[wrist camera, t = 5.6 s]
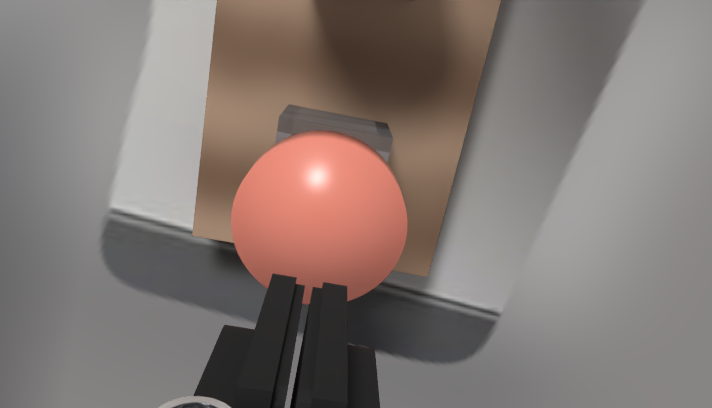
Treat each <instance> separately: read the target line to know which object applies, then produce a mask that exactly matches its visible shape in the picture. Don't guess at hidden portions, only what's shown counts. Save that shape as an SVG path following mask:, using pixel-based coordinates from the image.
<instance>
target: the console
mask: <svg viewBox="0 0 712 408" xmlns="http://www.w3.org/2000/svg"><path fill="white" fill-rule="evenodd" d="M500 3H501V0H217V6H216V15H215V25H214V34H213V44H212V53H211V63H210V72H209V82H208V91H207V101H206V110H205V120H204V129H203V139H202V148H201V158H200V167H199V177H198V186H197V196H196V205H195V215H194V225H193V234H192V236H197V237H203V238H209V239H214V240H220V241H226V242H232V243H234V240H233V236H232V229H231V213H232V207H233V202H234V199H235V196H236V193H237V190H238V188H239V186H240V184H241V183H242V181H243V179H244V178H245V176H246V175H247V173H248V172H249V171H250V169H251V168H252V166H253V165H254V164H255V162H256V161H257V159H258V158H259V157H260V156H261V155H262V154H263V153H264V152H265V151H266V150H267V149H269V148H270V147H271V146H273V145H274V144H276V143H277V142H279V141H281V140H282V139H284V138H287V137H289V136H292V135H295V134H298V133H302V132H308V131H334V132H339V133H343V134H347V135H349V136H352V137H354V138H357V139H359V140H361V141H362V142H364V143H366V144H368V145H369V146H370V147H372V148H373V149H374V150H376V151H377V152H378V153H379V154H380V155H381V156H382V157H383V158H384V160H385V161H386V162H387V163H388V165H389V166H390V168H391V169H392V171H393V173H394V174H395V176H396V179H397V181H398V184H399V187H400V190H401V193H402V196H403V199H404V203H405V207H406V212H407V221H408V222H407V236H406V242H405V245H404V248H403V252H402V254H401V256H400V258H399V260H398V262H397V264H396V265H395V267H394V268H393V270H392V271H397V272H403V273H409V274H415V275H420V276H426V277H428V274H429V270H430V266H431V263H432V259H433V255H434V251H435V248H436V244H437V240H438V236H439V233H440V229H441V225H442V221H443V217H444V214H445V210H446V206H447V202H448V199H449V195H450V191H451V187H452V184H453V180H454V176H455V172H456V169H457V165H458V161H459V157H460V154H461V150H462V146H463V142H464V138H465V135H466V131H467V127H468V123H469V120H470V116H471V112H472V108H473V105H474V101H475V97H476V93H477V90H478V86H479V82H480V78H481V75H482V71H483V67H484V63H485V59H486V56H487V52H488V48H489V44H490V41H491V37H492V33H493V29H494V26H495V22H496V18H497V14H498V11H499V7H500Z"/></svg>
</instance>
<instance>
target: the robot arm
mask: <svg viewBox="0 0 712 408" xmlns="http://www.w3.org/2000/svg"><path fill="white" fill-rule="evenodd" d="M296 280H297V277H291V276H285V275H279V274H274V273H273V274H272V277H271V280H270V283H269V287H268V290H267V293H266V296H265V299H264V302H263V305H262V309H261V312H260V315H259V318H258V321H257V324H256V328H255V330H254V329H247V328H241V327H235V326H229V325H224V327H223V329H222V331H221V333H220V335H219V338H218V340H217V342H216V345H215V347H214V349H213V352H212V354H211V356H210V359H209V361H208V363H207V366H206V368H205V370H204V372H203V375H202V377H201V380H200V382H199V384H198V386H197V389H196V391H195V393H194V396H190V397H182V398H179V399H175V400H171V401H169V402H167V403H165V404H163V405H162V406H160V407H158V408H284V406H285V401H286V395H287V390H288V384H289V378H290V372H291V366H292V360H293V354H294V348H295V342H296V337H297V331H298V325H299V319H300V313H301V307H302V301H303V295H304V289H305V285H300V284H296ZM290 408H380V402H379V391H378V380H377V370H376V358H375V351H374V349H371V348H365V347H359V346H352V345H348V337H347V286H344V285H338V284H332V283H326V282H323V285H322V288H317V287H313V288H312V293H311V298H310V304H309V309H308V314H307V319H306V325H305V330H304V335H303V341H302V346H301V351H300V356H299V362H298V367H297V373H296V377H295V383H294V388H293V394H292V399H291V405H290Z"/></svg>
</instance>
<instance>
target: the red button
mask: <svg viewBox="0 0 712 408" xmlns="http://www.w3.org/2000/svg"><path fill="white" fill-rule="evenodd" d="M407 222H408V221H407V212H406V207H405V203H404V199H403V196H402V193H401V190H400V187H399V184H398V181H397V179H396V176H395V174H394V173H393V171H392V169H391V168H390V166H389V165H388V163H387V162H386V161H385V160H384V158H383V157H382V156H381V155H380V154H379V153H378V152H377V151H376V150H374V149H373V148H372V147H370V146H369V145H368V144H366V143H364V142H362V141H361V140H359V139H357V138H354V137H352V136H349V135H347V134H343V133H339V132H334V131H308V132H302V133H298V134H295V135H292V136H289V137H287V138H284V139H282V140H281V141H279V142H277V143H276V144H274V145H273V146H271V147H270V148H269V149H267V150H266V151H265V152H264V153H263V154H262V155H261V156H260V157H259V158H258V159H257V161H256V162H255V164H254V165H253V166H252V168H251V169H250V171H249V172H248V173H247V175H246V176H245V178H244V179H243V181H242V183H241V184H240V186H239V188H238V190H237V193H236V196H235V199H234V202H233V207H232V213H231V229H232V236H233V240H234V244H235V247H236V250H237V252H238V255H239V256H240V258H241V260H242V262H243V264H244V265H245V267H246V268H247V269H248V271H249V272H250V273H251V274H252V275H253V276H254V277H255V279H256V280H257V281H259V282H260V283H261V284H262V285H263V286H265V287H266V288H267V289H268V287H269V283H270V280H271V277H272V274H273V273H274V274H279V275H285V276H291V277H297V280H296V284H300V285H305V289H304V295H303V301H302V303H303V304H310V298H311V293H312V288H313V287H317V288H322V285H323V282H326V283H332V284H338V285H344V286H347V301H350V300H353V299H355V298H358V297H360V296H362V295H364V294H366V293H368V292H369V291H371V290H372V289H374V288H375V287H376V286H378V285H379V284H380V283H381V282H382V281H383V280H384V279H385V278H386V277H387V276H388V275H389V274H390V273H391V271H392V270H393V268H394V267H395V265H396V264H397V262H398V260H399V258H400V256H401V254H402V252H403V248H404V245H405V242H406V236H407Z"/></svg>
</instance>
